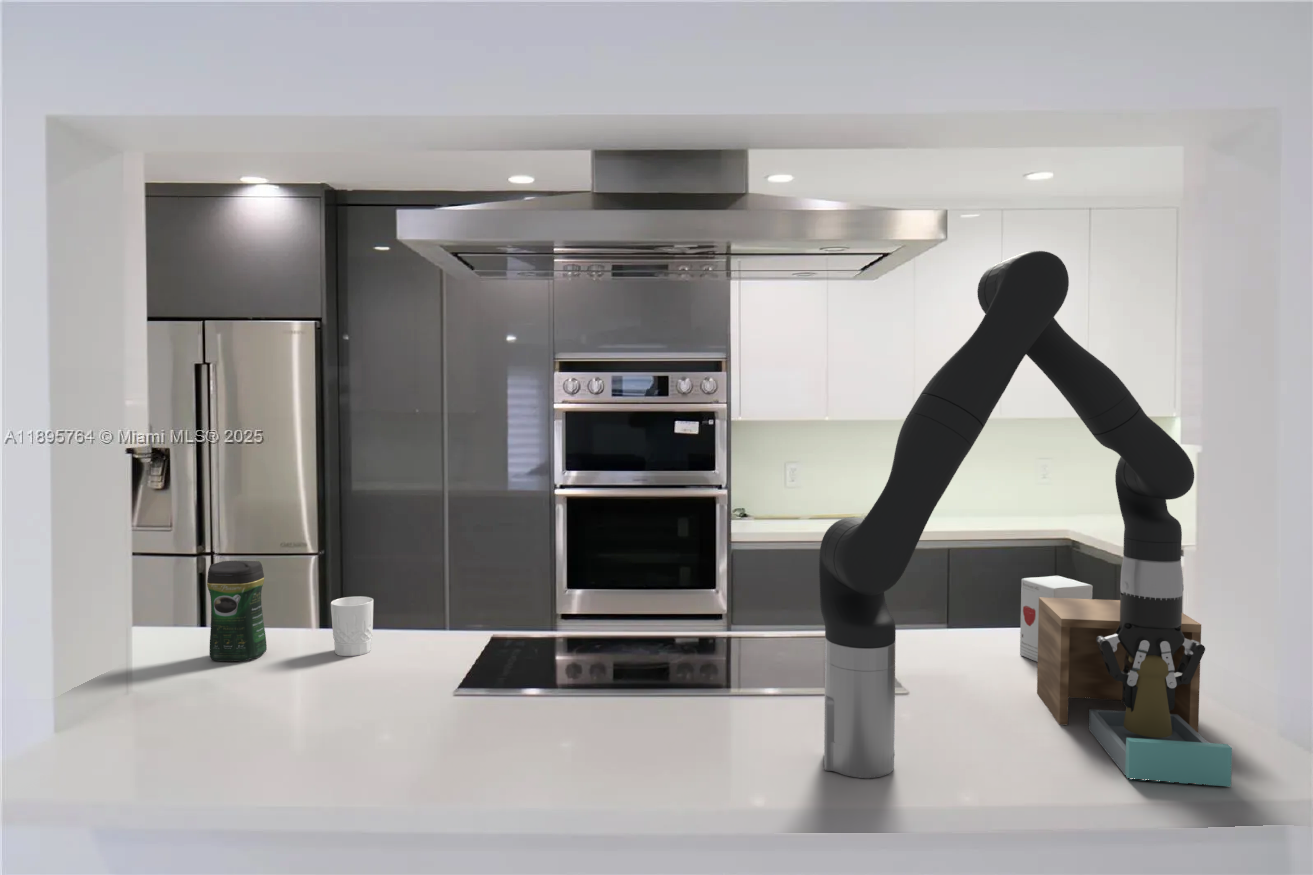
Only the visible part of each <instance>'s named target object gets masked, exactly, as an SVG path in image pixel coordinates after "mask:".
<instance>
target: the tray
mask: <svg viewBox="0 0 1313 875" xmlns="http://www.w3.org/2000/svg"><path fill="white" fill-rule="evenodd" d="M1088 712H1089V713H1088V730H1089V731H1090V733H1091V734H1092V735H1093V736H1094V738H1095V739H1096V740H1097V742H1098V743H1099V744H1100V745H1101V746H1102V748H1103V749H1104V750H1105V751H1106V753H1107V754H1108V755H1109V757H1110V758H1111V759H1112V761H1113V762H1114V763H1115V764H1116V765H1117V767H1118V768H1119V769H1120V771H1121V772H1122V773H1123V775H1124V776H1125V775H1126V776H1125V777H1126V779H1128V778H1133V779H1134V778H1135V779H1144V780H1143V781H1146V780H1145V779H1147V780H1148V779H1149V780H1158V781H1157V782H1160V781H1168V782H1167V783H1174V782H1179V783H1178V784H1188V783H1196V784H1195V785H1202V784H1204V786H1217V787H1218V786H1220V787H1230V788H1231V786H1232V760H1233V755H1232V754H1233V747H1232V746H1231V745H1229V744H1228V743H1214V742H1213V743H1212V742H1209V741H1208V740H1206V738H1204V737H1203V736H1202V735H1201V734H1200V733H1199V731H1198V732H1196V731H1195V730H1194V729H1193V728H1192V727H1191V726H1190V725H1189V724H1188V723H1187V722H1185V721H1184V720H1183V719H1182V718H1181V717H1180V716H1179V715H1178V714H1170V718H1171V726H1172V735H1171V736H1168V737H1162V738H1158V737H1148V736H1143V735H1138V734H1135V733H1133V732H1130V731H1128V730H1126V729H1125V728H1124V725H1123V724H1124V718H1125V713H1126V710H1111V709H1110V710H1109V709H1107V710H1106V709H1095V708H1088ZM1159 780H1160V781H1159ZM1169 781H1170V782H1169ZM1205 784H1206V785H1205ZM1207 784H1208V785H1207Z"/></svg>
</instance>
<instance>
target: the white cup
mask: <svg viewBox="0 0 1313 875" xmlns="http://www.w3.org/2000/svg"><path fill="white" fill-rule="evenodd" d="M330 613H331V625H332V635H333V636H332V637H333V642H334V654H335V655H337V656H340V657H356V656H362V655H365V654H368V653H370V652H371V651H372V637H373V630H374V629H373V628H374V598H372V597H371V596H370V597H369V596H360V595H359V596H346V597H341V598H337V599H333V600H332V601H331V602H330Z"/></svg>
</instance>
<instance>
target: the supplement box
mask: <svg viewBox="0 0 1313 875" xmlns="http://www.w3.org/2000/svg"><path fill="white" fill-rule="evenodd" d="M1020 587H1021V590H1020V592H1021V593H1020V632H1019V633H1020V634H1019V635H1020V636H1019V637H1020V639H1019V642H1020V643H1019V655H1020V656H1022V657H1025V658H1027V659H1029V660H1032V661H1033V662H1037V663H1038V616H1039V597H1046V598H1073V599H1093V589H1094V588H1093V585H1092V584H1089V583H1086V582H1081V581H1078V580H1077V579H1076V580H1075V579H1072V578H1069V577H1068V578H1067V577H1064V576H1060V575H1049V576H1039V577H1038V576H1037V577H1036V576H1035V577H1034V576H1033V577H1024V578H1021V586H1020Z"/></svg>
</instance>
